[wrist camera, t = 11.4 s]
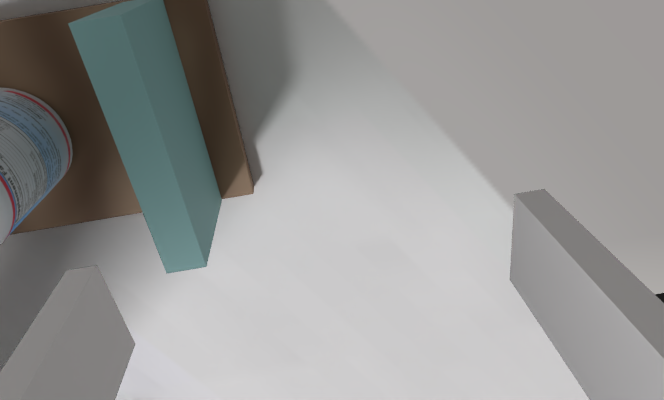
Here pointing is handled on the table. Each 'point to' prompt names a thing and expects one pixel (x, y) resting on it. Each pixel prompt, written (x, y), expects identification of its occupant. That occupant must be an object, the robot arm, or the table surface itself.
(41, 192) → the pill bottle
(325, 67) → the table surface
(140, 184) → the sliding jaw
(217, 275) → the table surface
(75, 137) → the clamp board
